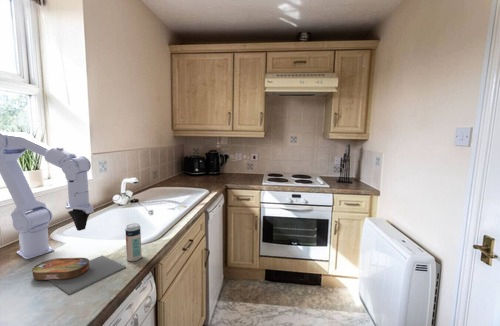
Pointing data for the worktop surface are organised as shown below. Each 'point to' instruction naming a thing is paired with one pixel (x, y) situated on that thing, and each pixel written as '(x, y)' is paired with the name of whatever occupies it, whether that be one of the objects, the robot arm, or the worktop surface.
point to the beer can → (133, 242)
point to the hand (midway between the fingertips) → (81, 229)
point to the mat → (89, 275)
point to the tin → (60, 268)
